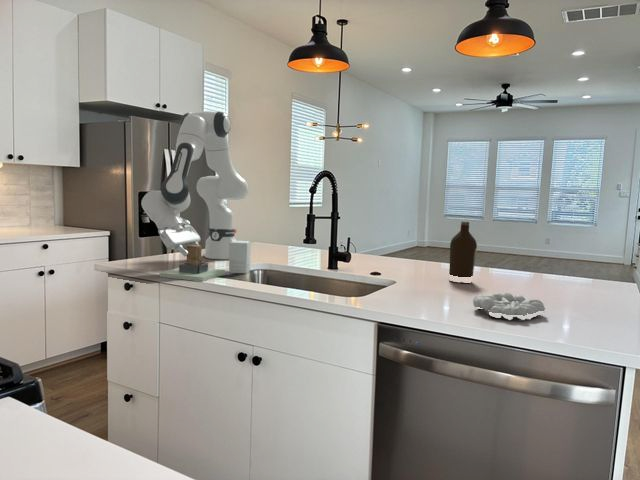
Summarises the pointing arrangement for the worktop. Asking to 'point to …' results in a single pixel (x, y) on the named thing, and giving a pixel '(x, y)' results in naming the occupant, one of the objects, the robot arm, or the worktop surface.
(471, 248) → the olive oil
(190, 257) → the brown wooden block
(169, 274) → the jar plate
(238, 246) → the supplement box
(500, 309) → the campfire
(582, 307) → the worktop surface
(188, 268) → the dark grey square tray
